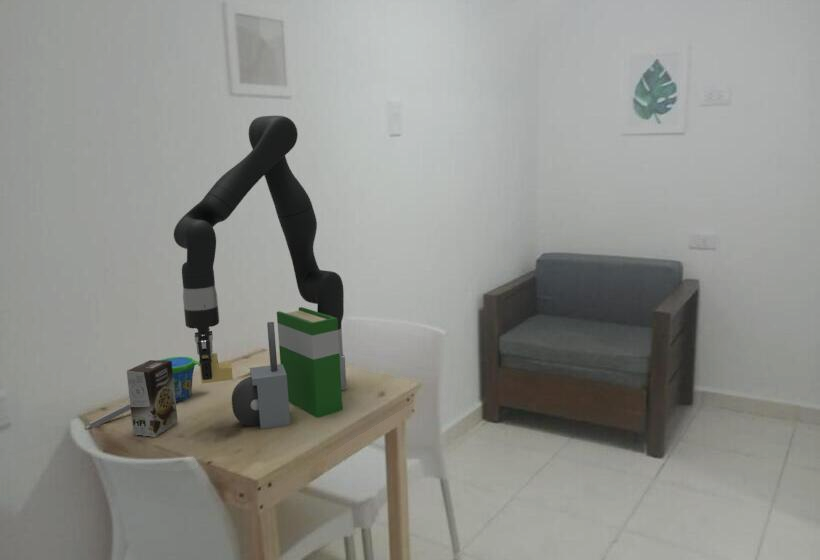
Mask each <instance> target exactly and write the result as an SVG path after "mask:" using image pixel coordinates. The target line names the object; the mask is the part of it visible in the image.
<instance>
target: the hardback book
mask: <svg viewBox="0 0 820 560" xmlns="http://www.w3.org/2000/svg"><path fill="white" fill-rule="evenodd" d="M276 322H277V335H278V346H279V348H278V349H279V359H280V364H283V366H284V369H285V372H286V374H287V386H288V400H289V404H291V405H293V406H295V407H297V408H298V409H301V410H302V411H304V412H305V413H308V414H310V415H312V416H313V417H315V418H317V419H319V418H322V417H324V416H327V415H332V414H333V413H337V412H338V413H339V412H340V411H343V410H344V409H343V394H342V391H343V390H341V372H340V355H339V337H338V320H337V318H335V317H332V316H329V315H326V314H322V313H319V312H317V310H312V309H309V308H307V307H303V306H299V307H298V310H294V311H291V312H283V311H280V310H278V311H276Z"/></svg>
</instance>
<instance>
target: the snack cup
mask: <svg viewBox="0 0 820 560" xmlns="http://www.w3.org/2000/svg"><path fill="white" fill-rule="evenodd" d="M161 360H166V361H172V371H173V380H174V390H175V400H176V402H178V401H185V400H187V399H188V398H190V397H191V396H192V392H193V376H194V370H195V366H196V365H198V366H199V367H200V363H199V361H198V360H195V359H194V358H193V357H191V356H190V357H189V356H174V357H167V358H164V359H161Z"/></svg>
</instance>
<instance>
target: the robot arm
mask: <svg viewBox="0 0 820 560" xmlns="http://www.w3.org/2000/svg"><path fill="white" fill-rule="evenodd" d="M248 139H249V143H250V146H251V148H252V150H251V151H250V152H249V153H248V154H247V155H246V156H245V157H244V158H243V159H241V160H240V161H239V162H238V163H236V165H234V166H233V167H231V168H230V169H229V170H228V171H227V172H225V173H224V174H223V175H222V176H221V177H220V178H219V179H218V180H217V181H216V182H215V183H214V184H213V186H212V187H211V188H210V189H209V191H208V192H207V193H206V194H205V196H204V197H203V199H202V200H200V201H199V202H198V203H197V204H196V205H194V206H193V207H192V208H191V209H190V210H189V211H187V213H185V214H184V215H183V216H182V217H181V218H180V219H179V220H178V222H177V223H176V225H175V227H174V230H173V240H174V241H175V243H176V244H177V245H178V246H179V247H180V248H182V249H184V250H186V262H184V263H183V264H182V267H181V278H182V287H183V288H182V289H183V291H182V293H183V294H182V301H183V313H184V320H185V326H186V328H188V329H197V332H196V331H195V332H194V342H195V344H196V354H197V355H198V356H199V361H198V362H199V363H200V365H201V369H202V379H203V380H209V379H212V369H211V362H212V359H211V354H212V353H213V350H214V349H213V340H214V337H213V336H214V335H213V330H211V329H210V328H212V327H215V326H217V325H219V323H220V315H219V314H220V313H219V305H218V293H217V290H216V283H215V271H214V263H215V258H216V250H217V236H216V232H215V229H214V226H216V225H217V224H218V223H222V222H224V221H226V220H227V219H228V218H229V217H230V216H231V215H232V213H233V212H234V211H235V210H236V208H237V207H238V206H239V205H240V203H241V202H242V200H244V198H245V197H246V196H247V194H248V193H249V192H250V191H251V190H252V189H253V187H254V186H255V185H257V183H258V182H259V181H260V180H261V179H262V178H263V177H264V178H265V182H266V184H267V187H268V190H269V194H270V197H271V199H272V202H273V204H274V209H275V212H276V216H277V219H278V221H279V225H280V227H281V230H282V232H283V236H284V238H285V242H286V245H287V249H288V251H289V256H290V258H291V263H292V266H293V271H294V275H295V276H294V277H295V280H296V285H297V289H298V293H299V294H300V296H301V298H302V299H303V301H305V302H308V303H311V304H316V305H317V310H316V312H319V313H322V314H326V315H329V316H332V317H335V318H337V320H338V337H339V355H340V372H341V390H342V391H345V390H347V371H346V357H345V355H344V349H343V348H344V347H343V333H342V332H343V331H342V330H343V329H342V322H343V318H344V311H345V309H344V302H345V301H344V300H345V299H344V298H345V297H344V296H345V295H344V294H345V293H344V285H343V280H342V277H341V276H340V275H339V274H338V273H337V272H335V271H331V270H323V269H320V268H319V266H318V263H317V259H316V257H315V252H314V246H315V245H314V244H315V239H316V234H317V228H318V222H317V217H316V214H315V211H314V206H313V204H312V201H311V198H310V196H309V194H308V193H307V192H306V190H305V188H304V187H303V186H302V184H301V182H300V181H299V180H298V179H297V178H296V176H295V175H294V173H293V172H292V170H291V168H290V166H289V163H288V160H287V158H286V155H287V154H289V153H290V151H291V150H293V148H294V147H295V145H296V143H297V140H298V128H297V126H296V124H295V122H294V121H293V119H292V120H291V118H289V117H287V116H284V115H264V116H263V115H262V116H259V117H255V118H254V119H253V120H252V121H251V122H250V125H249V128H248ZM202 355H208V357H209V358H204V359H202Z"/></svg>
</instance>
